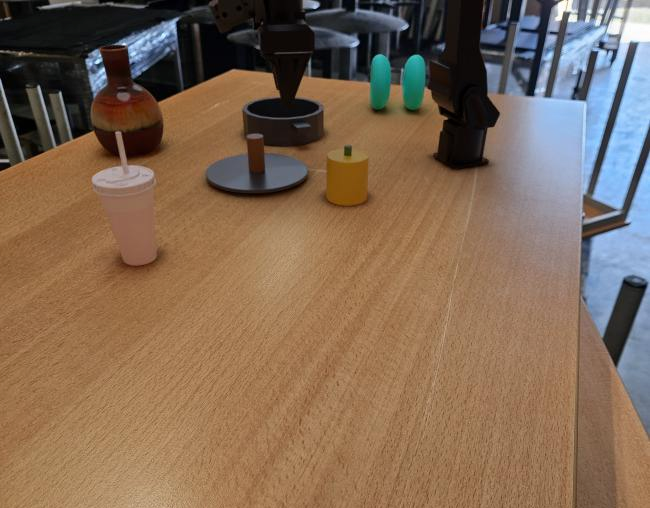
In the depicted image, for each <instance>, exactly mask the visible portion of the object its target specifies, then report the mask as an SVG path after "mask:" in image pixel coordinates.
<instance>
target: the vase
mask: <svg viewBox="0 0 650 508" xmlns="http://www.w3.org/2000/svg"><path fill="white" fill-rule="evenodd" d="M98 49H99V53H100V57H101V60H102V65H103V68H104V72H105V77H106V85H105V86H103V87H102V88H101V89H99V90H98V92H97V93H96V95H95V96H94V98H93V100H92V101H91V106H90V112H89V113H90V122H91V127H92V130H93V133H94V134H95V137H96V139H97V141H98V142H99V144H100V145H101V146H102V148H103V149H104V150H105V151H107V152H108V153H109V154H111V155H114V156H118V157H120V153H119V148H118V144H117V139H116V134H115V132H121V135H122V140H123V145H124V150H125V155H126V157H139V156H142V155H144V156H145V155H147V154H150V153H152V152H154V151H156V150H157V149H158V148H159V146H160V144H161V143H162V139H163V136H164V116H163V112H162V109H161V106H160V104H159V102H158V101H157V99H156V98H155V96H153V94H152V93H151V92H150V91H149V90H147V89H146V88H145V87H143V86H141V85H140V84H138V83H136V82H134V80H133V76H132V69H131V62H130V53H129V52H130V51H129V47H128V46H127V45H125V44H108V45H102V46H100V47H99V48H98Z"/></svg>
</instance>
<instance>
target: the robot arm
mask: <svg viewBox="0 0 650 508" xmlns="http://www.w3.org/2000/svg"><path fill="white" fill-rule="evenodd" d="M303 1H304V0H211V1H210V2H209V3H208V8H209V10H210V13H211V15H212V18H213V20H214V22H215V25H216V27H217V29H218V32H219V33H220V34H225V33H227V32H229V31H231V30H232V28H234V27H236V26H238V25H241V24H243V23H246V22H247V21H250V20H251V22H252V29H253V31H254V32H253V33H254V37H255V38H256V39H257V40H258V46H259V52H260V56H261V57H262V58H263V59H264V60H266V61H267V62H268V63H269V64H270V68H271V73H272V77H273V81H274V86H275V90H277V91H278V93H279V97H280V98H281V103H282V107H283V108H284V109H286V108H291V107H292V104H293V102H294V99H295V97H297V94H298V91H299V89H300V86H301V83H302V80H303V78H304V75H305V72H306V71H307V68H308V65H309V63H310V60H311V58H312V57H313V54H314V53H313V52H315V51H316V34H315V31H314V30H313V29H312V28H311V27H310V25H308V23H307V22H306V10H304V2H303ZM484 5H485V0H447V8H446V25H445V40H444V41H445V42H444V48H443V50H442V51H441V54H440V56H439V58H438V60H430V61H429V64H428V67H429V81H428V84H427V87H426V89H427V90H429V91H430V95H431V99H432V101H434V103H435V104H436V105H437V107H438V113H439V115H440V116H441V117H445V118H446V119H443V122H442V129H441V130H440V131H439V137H438V144H437V145H438V146H437V152H434V153H433V158H435V159H437V160H439V161H440V162H442V163H444V164H446V165H447V166H449V167H450V168H452V169H455V170H457V169H458V170H459V169H465V168H469V167H476V166H483V165H488V164H489V162H490V160H489V159H488V158H486V157H484V152H485V147H486V140H487V134H488V129H491V128H494V127H496V124H497V123H498V120H499V118H500V115H501V112H500V111H499V109H498V108H497V107H496V105H495V104H494V102H493V101H492V100H491V99H490V97H489V96H488V94H489V88H488V87H489V86H488V85H489V84H488V70H487V66H486V63H485V61H484V57H483V54H482V50H481V38H482V27H483V18H484Z"/></svg>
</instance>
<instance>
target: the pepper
mask: <svg viewBox="0 0 650 508" xmlns="http://www.w3.org/2000/svg"><path fill="white" fill-rule="evenodd" d="M369 160H370V155H369V153H368V152H367V151H365V150H362V149H358V148H353V146H352V145H351V144H345V145H344V146H343V147H342V148H336V149H335V148H334V149H331V150H330V151H328V152H327V153H326V191H325V193H326V195H325V197H326V200H327V201H328V202H329V203H332V204H334V205H337V206H344V207H346V206H347V207H350V206H358V205H361V204H363V203H365V202H366V201H367V199H368V184H369V166H370V165H369V162H370V161H369Z"/></svg>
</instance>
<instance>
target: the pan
mask: <svg viewBox="0 0 650 508" xmlns="http://www.w3.org/2000/svg"><path fill="white" fill-rule="evenodd" d="M241 112H242V125H243V126H242V127H243V133H244V136H245V138H246V136H247V135H249V134H261V135H263V140H264V146H269V147H271V146H272V147H293V146H302V145H306V144H310V143H313V142H316V141H318V140H320V139H321V138H322V137H323V136H324V128H325V126H324V124H325V123H324V120H325V119H324V115H325V113H324V112H325V109H324V104H323V103H321V102H319V101H318V100H314V99H310V98H306V97H297V96H295V99H294V102H293V104H292V107H291V108H286V109H284V108H283V107H282V103H281V98H280V96H274V97H273V96H272V97H262V98H258V99H255V100H252V101H251V100H250V101H249V102H247V103H245V104H244V105H243V107H242V109H241Z"/></svg>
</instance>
